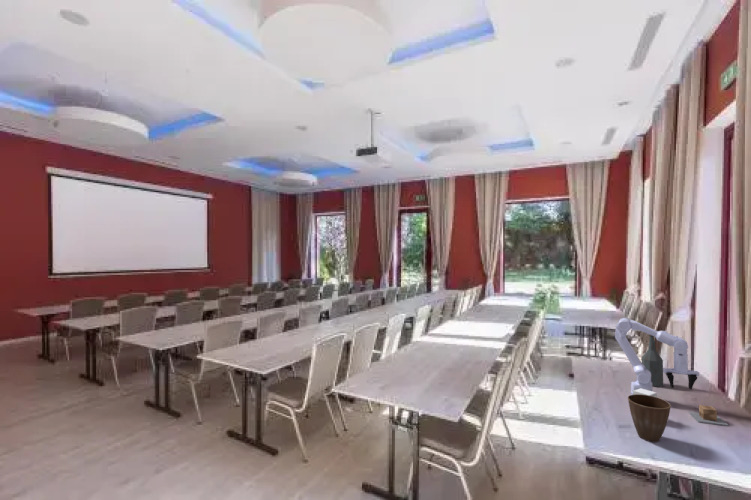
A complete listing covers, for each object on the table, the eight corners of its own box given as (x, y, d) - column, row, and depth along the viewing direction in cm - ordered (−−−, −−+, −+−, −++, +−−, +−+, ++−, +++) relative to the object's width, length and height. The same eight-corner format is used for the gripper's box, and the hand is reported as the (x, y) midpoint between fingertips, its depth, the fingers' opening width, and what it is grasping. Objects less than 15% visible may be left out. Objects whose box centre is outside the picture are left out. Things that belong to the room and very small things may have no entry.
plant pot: (680, 443, 156) (679, 405, 156) (653, 449, 152) (653, 410, 152) (645, 427, 170) (644, 392, 170) (620, 432, 166) (619, 396, 166)
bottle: (662, 383, 226) (661, 333, 227) (664, 388, 218) (663, 337, 218) (641, 380, 232) (640, 332, 232) (642, 385, 224) (641, 335, 224)
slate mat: (698, 422, 175) (698, 421, 175) (689, 412, 185) (689, 411, 185) (728, 426, 171) (728, 425, 171) (717, 416, 181) (717, 415, 181)
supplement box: (649, 422, 176) (648, 395, 176) (632, 416, 182) (632, 390, 182) (657, 418, 179) (657, 392, 179) (640, 412, 186) (640, 387, 186)
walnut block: (703, 419, 176) (703, 408, 176) (699, 415, 181) (698, 404, 181) (716, 421, 174) (716, 410, 174) (712, 416, 179) (712, 406, 179)
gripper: (666, 362, 192) (666, 388, 192) (701, 365, 187) (701, 392, 187) (661, 358, 199) (662, 384, 199) (695, 361, 193) (696, 387, 193)
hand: (681, 388), depth 193 cm, fingers open, 7 cm apart
